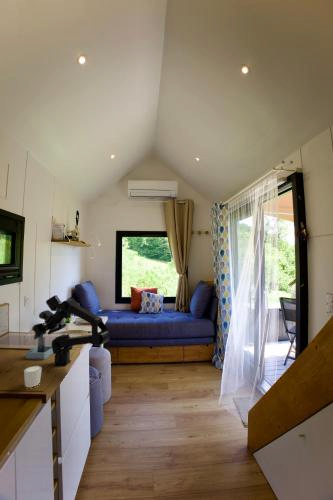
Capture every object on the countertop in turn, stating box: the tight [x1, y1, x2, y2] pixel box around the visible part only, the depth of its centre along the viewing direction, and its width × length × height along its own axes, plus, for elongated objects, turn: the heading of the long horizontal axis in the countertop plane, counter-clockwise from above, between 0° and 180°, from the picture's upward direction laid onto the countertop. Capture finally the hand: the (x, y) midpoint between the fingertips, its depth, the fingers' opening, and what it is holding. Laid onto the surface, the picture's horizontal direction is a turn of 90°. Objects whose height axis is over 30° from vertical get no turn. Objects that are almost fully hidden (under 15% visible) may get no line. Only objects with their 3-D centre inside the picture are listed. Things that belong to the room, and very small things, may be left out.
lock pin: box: [37, 333, 46, 353], centre depth 142 cm, size 6×6×12 cm
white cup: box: [23, 365, 43, 387], centre depth 108 cm, size 7×7×7 cm
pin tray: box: [25, 345, 54, 361], centre depth 142 cm, size 11×11×4 cm
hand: (41, 336), depth 136 cm, fingers open, 9 cm apart
